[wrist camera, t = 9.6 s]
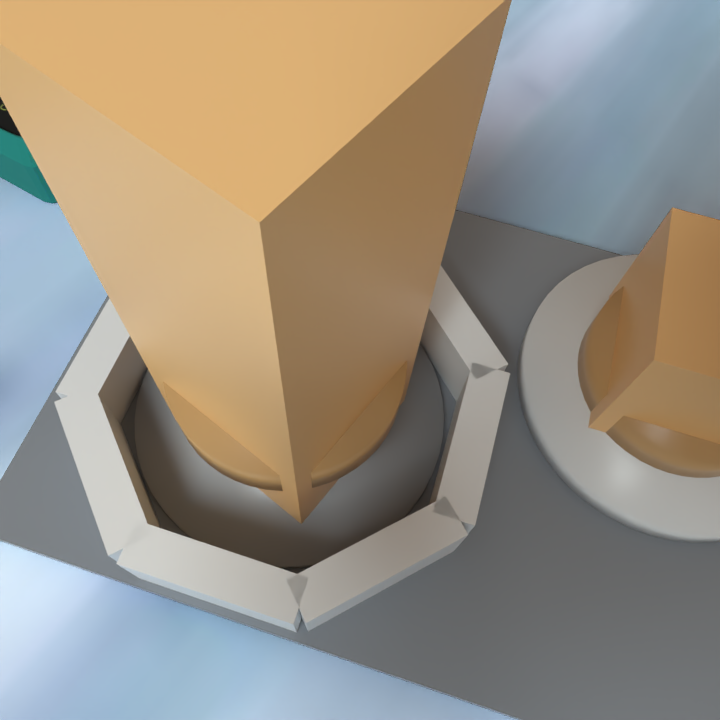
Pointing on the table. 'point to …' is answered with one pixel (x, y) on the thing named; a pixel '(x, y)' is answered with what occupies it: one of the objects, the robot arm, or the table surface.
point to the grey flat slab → (448, 488)
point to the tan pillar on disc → (260, 201)
